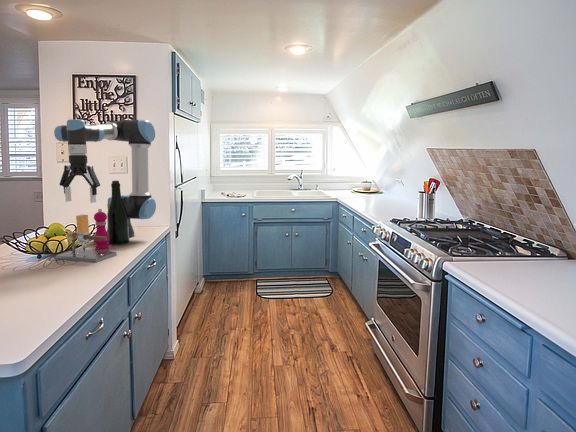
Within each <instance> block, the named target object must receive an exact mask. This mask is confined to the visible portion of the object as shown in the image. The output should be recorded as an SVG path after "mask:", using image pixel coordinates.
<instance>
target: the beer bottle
mask: <svg viewBox="0 0 576 432" xmlns="http://www.w3.org/2000/svg"><path fill="white" fill-rule="evenodd" d="M110 186H111V196H110V197H111V202H110V205H109V208H108V207H107V213H106V215H107V219H106V225H107V228H108V236H109V239H110V241H109V242H108V244H109V245H113V246H119V245H121V246H122V245H126V244H129V243H130V237H129V227H128V216H127V210H126V208H125V206H124V203H123V201H122V198H121V196H122V194H121V193H122V192H121V183H120V181H119V180H111V184H110Z"/></svg>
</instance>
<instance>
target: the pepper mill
mask: <svg viewBox="0 0 576 432" xmlns="http://www.w3.org/2000/svg"><path fill="white" fill-rule="evenodd" d="M97 211H98V212H95V214H94V215H93V220H94V221H95V226H96V232H95V234H94V236H104V237H107V240H105V241H100V240H93V242H94V244H95V245H94V246H95V250H97V251H105V250H108V249H110V244H109V243H108V242H109V241H110V239H109V236H108V234H107V228H106V225H107V213H105V211H104V212H103V210H102V208H98V210H97Z"/></svg>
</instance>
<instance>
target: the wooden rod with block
mask: <svg viewBox="0 0 576 432" xmlns="http://www.w3.org/2000/svg"><path fill="white" fill-rule="evenodd" d="M66 239H67V240H66V241H68V240H69V241H71V249H72V250H71V251H72V252H73V253H75V250H76V242H75V240H78V235H77V231H71V232H66ZM84 239H87V240H90V241H94V240H100V241H105V240H107V237H104V236H95V235H90V234H89V235H84Z"/></svg>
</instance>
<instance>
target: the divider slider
mask: <svg viewBox="0 0 576 432" xmlns="http://www.w3.org/2000/svg"><path fill="white" fill-rule="evenodd" d="M75 219H76V232H77V235H78V239H77V245H80V246H82V249H83V250H84V252H85V250H87V249H86V244H90V243H91V240H87V239H84V235H90V228H89V215H88V214H78V215H76V216H75Z"/></svg>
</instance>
